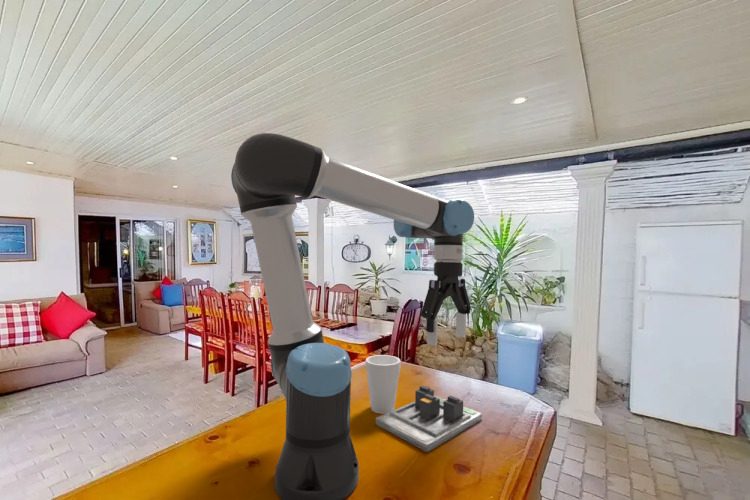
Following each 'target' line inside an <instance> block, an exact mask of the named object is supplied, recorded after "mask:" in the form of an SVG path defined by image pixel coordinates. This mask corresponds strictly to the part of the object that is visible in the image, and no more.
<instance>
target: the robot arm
mask: <svg viewBox="0 0 750 500" xmlns="http://www.w3.org/2000/svg"><path fill="white" fill-rule="evenodd" d="M234 158H235V159H234V162H233V163H234V164H233V166H232V169H231V175H230V179H231V185H232V187H233V189H234V192H235V194H236V197H237V201H238V206H239V210H240V215H241V216H242V217H243V218H244V219H246V220H247V221H249V223H250V226H251V230H252V235H253V240H254V245H255V250H256V253H257V254H256V255H257V260H258V264H259V269H260V274H261V278H262V283H263V287H264V291H265V298H266V302H267V308H268V312H269V316H270V322H271V326H272V332H271V335H270V336H269V338H268V340H267V343H268V348H269V353H270V356H271V357H270V370H271V374H272V375H273V379H274V380H275V381H276V383H277V384H278V387H279V388H280V390H281V392H282V394H283V395H284V398H285V402H286V403H285V404H286V405H285V406H286V407H285V412H286V413H285V440H284V442H283V445H282V449H281V452H280V454H279V458H278V462H277V464H276V467H275V472H274V488H275V489H274V490H275V492H276V494H277V496H278V497H279V498H280V499H281V500H345V498H347V497H349V495H350V494H352V492H354V490H355V489H356V487H357V485H358V483H359V476H360V473H359V472H360V471H359V469H360V466H359V460H358V457H357V454H356V450H355V448H354V444H353V440H352V438H351V425H350V424H351V391H352V390H351V389H352V375H353V373H352V371H353V370H352V366H351V358H350V356H349V354H348V352H347V351H346V350H345V349H344V348H342V347H340V346H338V345H335V344H334V345H332V344H330V343H327V342H326V343H325V339H324V335H323V331H322V327H321V325H319V324H318V323H316V322H315V321H314V320H313V317H312V310H311V306H310V302H309V301H310V300H309V295H308V291H307V286H306V282H305V276H304V271H303V267H302V260H301V256H300V250H299V246H298V242H297V237H296V231H295V226H294V221H293V220H294V219H293V214H294V212H295V210H296V209H297V208H298V204H297V201H296V200H297V199H296V196H297V197H301V198H304V199H307V200H308V199H310V198H312V197H314V196H315V197H320V198H322V199H325V200H328V201H332V202H335V203H338V204H342V205H345V206H349V207H352V208H355V209H358V210H361V211H364V212H368V213H372V214H374V215H376V216H377V215H378V216H381V217H384V218H387V219H390V220H391V219H392V220H393V230H394V232H395V234H396V236H398V237H399V238H406V239H410V238H411V239H431V240H432V239H433V241H434V245H433V260H435V262H433V263H434V264H433V275H434V276H436V277H437V279H436V280H435V279H430V280H429V281H428V289H427V292H426V296H425V299H424V302H423V306H422V309H421V313H420V317H422V318H423V319H425V320H426V344H427V345H430V346H432V347H433V346H434V347H437V346H438V332H439V331H438V327H439V325H438V319H436V318H437V315H438V314H439V311H440V310H441V307H442V305H443V303H444V301H445V299H447V298H448V297H450V298H451V300H452V301H453V304H454V306H455V308H456V310H457V312H456V313H455V337H459V338H463V339H465V338H466V336H467V332H466V331H467V330H466V329H467V315H469V314H471V310H472V306H471V303H470V299H469V295H468V291H467V288H466V287H467V286H466V279H465V278H459V277H462V276H463V263H462V262H461V261H462V260H463V252H464V250H463V246H464V245H463V243H464V242H463V240H464V234H467V233H468V232H469V231H470V230H471V229H472V228H473V225H474V222H475V211H474V209H473V207H472V206H471V204H470V203H469V202H468V201H466V200H465V199H450V200H447V199H443V198H441V197H438V196H436V195H435V196H434V195H431V194H429V193H427V192H424V191H421V190H419V189H415V188H413V187H410V186H408V185H405V184H402V183H399V182H396V181H394V180H391V179H389V178H385V177H383V176H380V175H378V174H375V173H372V172H369V171H367V170H364V169H361V168H359V167H356V166H354V165H350V164H347V163H345V162H344V161H343V162H342V161H340V160H337V159H335V158H332V157H329V156H327V154H326V152H325V151H324V149H322V148H320V147H317V146H315V145H312V144H310V143H308V142H304V141H302V140H298V139H296V138H293V137H289V136H286V135H282V134H277V133H274V132H273V133H270V132H269V133H267V132H264V133H262V132H261V133H258V134H255V135H252V136H250V137H248V138H247V139H246V140H245V141H243V142H242V144H241V145H240V146H239V147H238V149H237V151H236V154H235V157H234Z"/></svg>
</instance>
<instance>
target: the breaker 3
mask: <svg viewBox="0 0 750 500" xmlns="http://www.w3.org/2000/svg"><path fill="white" fill-rule="evenodd" d="M463 407H464V400H462V399H459V398H458V397H456V396H453V395H449V396H447V399H445V401H444V402H443V418H445V419H447V420H450V421H452V422H453V421H455V420H457V419H459V418H461V417H463Z"/></svg>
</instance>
